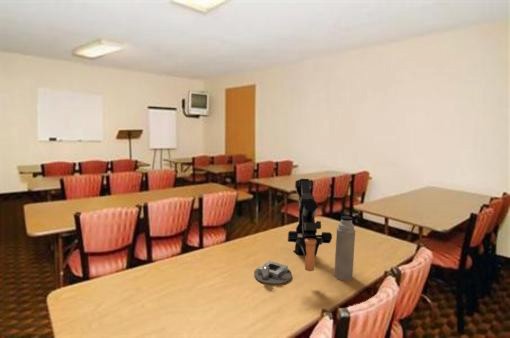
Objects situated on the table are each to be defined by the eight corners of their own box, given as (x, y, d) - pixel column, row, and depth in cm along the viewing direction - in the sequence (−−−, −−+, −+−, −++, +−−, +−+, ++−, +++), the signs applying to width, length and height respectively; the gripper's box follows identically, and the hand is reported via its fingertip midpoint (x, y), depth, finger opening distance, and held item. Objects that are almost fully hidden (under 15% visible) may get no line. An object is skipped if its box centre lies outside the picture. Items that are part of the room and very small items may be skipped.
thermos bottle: (335, 271, 151) (338, 213, 147) (352, 274, 149) (356, 215, 145) (333, 278, 144) (336, 218, 140) (351, 282, 141) (355, 220, 137)
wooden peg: (309, 265, 141) (310, 237, 139) (317, 269, 137) (318, 240, 136) (301, 268, 138) (302, 239, 137) (309, 272, 135) (310, 243, 133)
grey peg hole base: (265, 264, 158) (266, 251, 157) (297, 273, 149) (298, 259, 148) (247, 277, 143) (247, 264, 142) (280, 288, 134) (281, 273, 134)
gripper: (288, 213, 139) (289, 247, 130) (332, 214, 138) (336, 248, 129) (287, 225, 148) (287, 257, 138) (328, 226, 147) (331, 259, 138)
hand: (310, 255), depth 136 cm, fingers closed on wooden peg, 4 cm apart
